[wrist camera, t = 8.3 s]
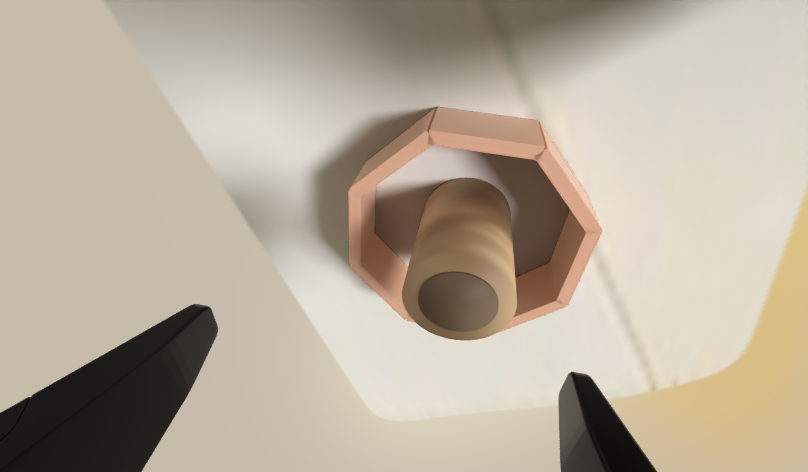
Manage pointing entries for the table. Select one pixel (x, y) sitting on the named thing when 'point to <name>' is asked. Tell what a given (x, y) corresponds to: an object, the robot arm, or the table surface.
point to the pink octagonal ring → (488, 135)
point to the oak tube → (462, 263)
